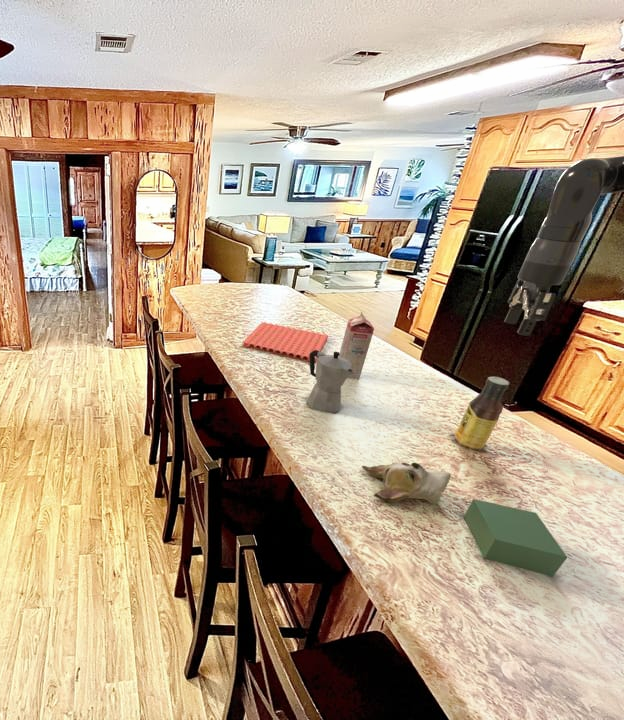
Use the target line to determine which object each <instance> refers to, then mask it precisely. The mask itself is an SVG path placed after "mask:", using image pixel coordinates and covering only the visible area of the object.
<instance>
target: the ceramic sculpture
mask: <svg viewBox="0 0 624 720" xmlns="http://www.w3.org/2000/svg"><path fill="white" fill-rule="evenodd" d="M361 468H362V469H363V470H365V472H367V473H368V474H369V475H371V476H373V477H374V478H377V479H381V480H382V482H383V487H381V488H380V490H378V491H377V492H376V493H374V494H373V497H375V498H377V499H380V500H383V501H385V502H389V503H398V502H400V501H403V500H405V499H421V500H425V501H426V502H428V503H430V504H433V505H434V504H436V503H438V502H439V501H440V498H441V496H442V494H443V493H444V492H445V491H446V489H447V487H448V485H449V483H450V479H451V477H452V474H451V473H450V472H444V471H442V470H438V469H426V468H425V467H424V466H423V465H421V463H418V462H411V463H407V462H393V463H390V464H385V465H384V464H380V465H379V464H378V465H374V466H367V465H362V466H361Z"/></svg>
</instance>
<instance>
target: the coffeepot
mask: <svg viewBox="0 0 624 720" xmlns="http://www.w3.org/2000/svg"><path fill="white" fill-rule="evenodd" d="M339 354H340V351H333V354H326V353H324V352H323V351H321V352H319V351H318V350H314V351H312V352H311V353H310V354H309V359H310V361H309V372H310V375H311V376H312V377H314V378H315V380H316V383H315V384H314V385H313V388H312V389H311V392H310V394H309V396H308V398H307V401H306V404H307V406H308V407H309V408H310V409H311V410H312V411H317V412H323V413H328V414H329V413H330V414H337V413H338V412H339V410H340V409H341V400H342V390H341V389H342V386H343V385H344V384H345V382H346V380H347V379H348V378H347V377H348V376H350V375H351V374H354V373H355V371H354V370H353V369H352V368H351V367H352V365H353V364H352V363H350V362H349V361H348V360H347V359H345V358H342V357H339ZM315 356H316V357H317V361H316V365H315Z"/></svg>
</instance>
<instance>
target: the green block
mask: <svg viewBox="0 0 624 720" xmlns="http://www.w3.org/2000/svg"><path fill="white" fill-rule="evenodd" d="M463 519H464V521H465V524H466V525H467V527H468V529H469V531H470V533H471V535H472V537H473V539H474V541H475V544H476V545H477V548H478V550H479V551H480V554H481V556H482V558H483V559H484V560H487V561H490V562H495V563H499V564H502V565H507V566H510V567H514V568H517V569H522V570H525V571H529V572H533V573H536V574H541V575H545V576H549V577H554V576H555V575H556V574H557V572H558V571H559V570H560V568H561V567H562V566H563V564H564V563H565V561H566V560H567V559H568V555H566V553H565V552H564V550H563V548H562V547H561V546H560V545H559V543H558V542H557V540H556V539H555V537H554V536H553V534H552V533H551V532H550V530H549V529H548V527H547V526H546V525H545V524H544V522H543V520H542V519H541V518H540V516H539V515H538V513H537V512H534V511H530V510H525V509H520V508H516V507H511V506H507V505H503V504H498V503H494V502H489V501H485V500H480V499H475V498H473V499H472V501H471V503H470V504H469V506H468V508H467V510H466V512H465V514H464V515H463Z"/></svg>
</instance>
